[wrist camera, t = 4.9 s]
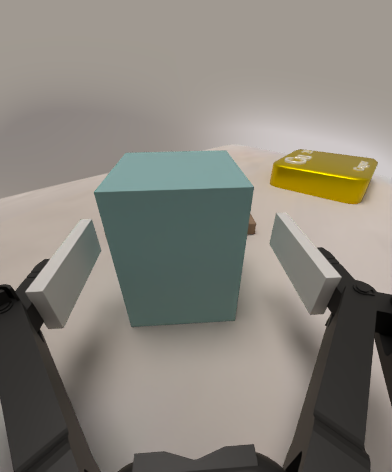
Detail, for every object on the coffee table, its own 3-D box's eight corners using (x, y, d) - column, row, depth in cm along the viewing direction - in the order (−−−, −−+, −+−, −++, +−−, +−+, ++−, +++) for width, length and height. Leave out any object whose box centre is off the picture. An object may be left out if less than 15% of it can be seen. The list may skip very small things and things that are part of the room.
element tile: (358, 208, 34) (371, 177, 31) (265, 186, 42) (270, 160, 39) (369, 181, 44) (380, 156, 41) (292, 168, 52) (298, 146, 49)
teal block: (131, 327, 17) (93, 192, 11) (144, 260, 24) (125, 152, 18) (234, 320, 17) (254, 187, 11) (219, 256, 24) (226, 150, 18)
